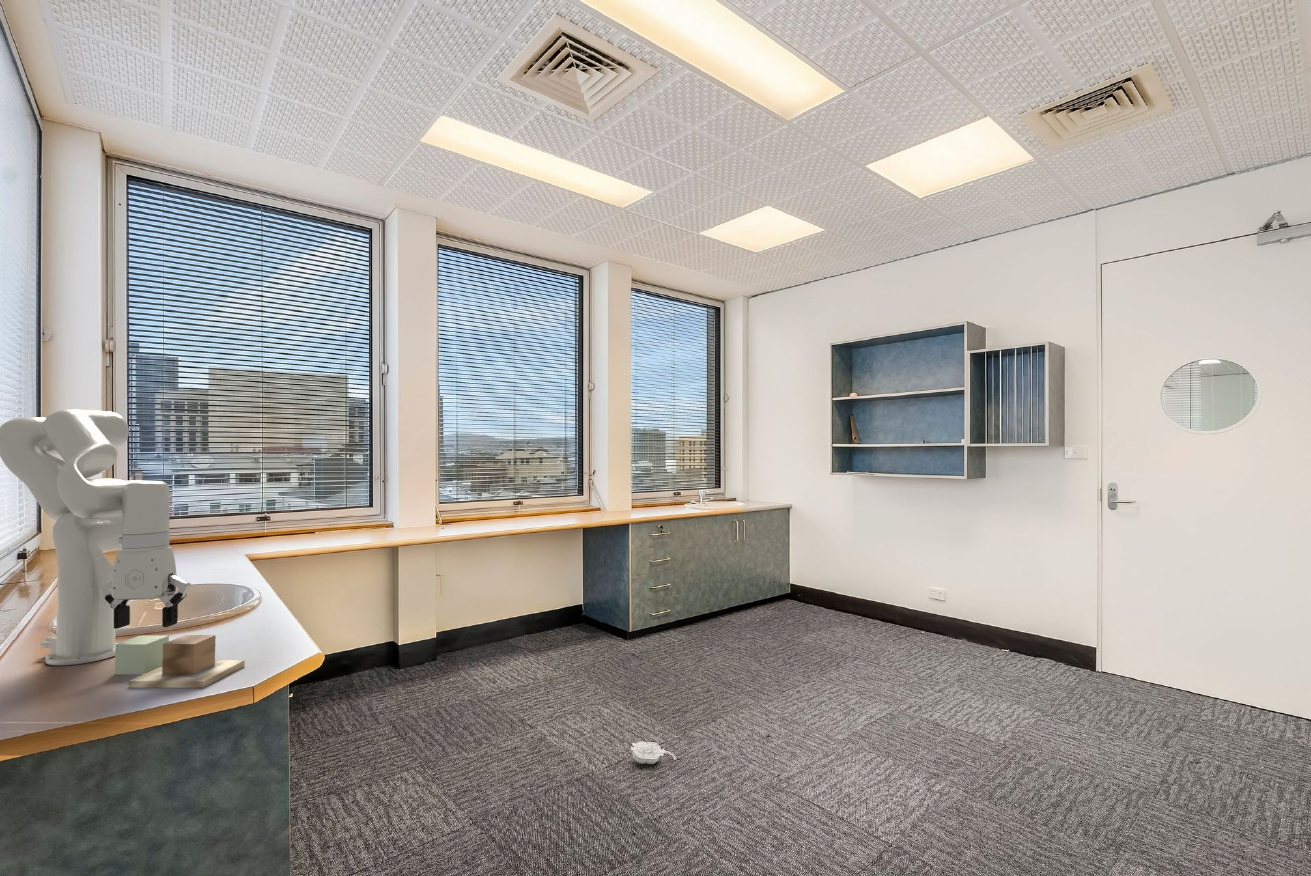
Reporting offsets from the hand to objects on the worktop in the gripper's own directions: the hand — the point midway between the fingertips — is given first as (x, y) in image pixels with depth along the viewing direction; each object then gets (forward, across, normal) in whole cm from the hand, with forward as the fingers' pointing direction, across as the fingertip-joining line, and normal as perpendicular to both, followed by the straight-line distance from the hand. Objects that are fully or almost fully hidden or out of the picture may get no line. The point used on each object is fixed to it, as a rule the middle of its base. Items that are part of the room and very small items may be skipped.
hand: (145, 626), depth 128 cm
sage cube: (+9, -1, 0) cm, 9 cm away
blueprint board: (+9, +11, -4) cm, 15 cm away
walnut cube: (+8, +11, -4) cm, 14 cm away
